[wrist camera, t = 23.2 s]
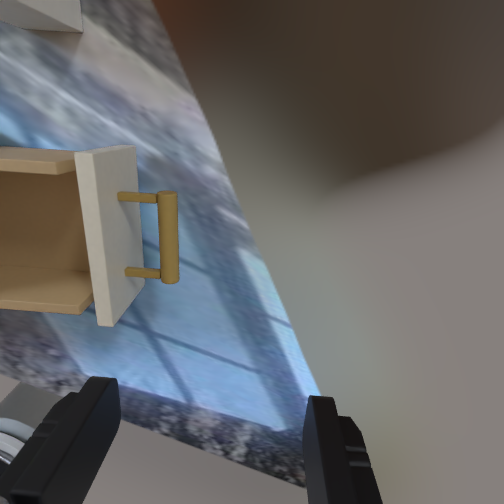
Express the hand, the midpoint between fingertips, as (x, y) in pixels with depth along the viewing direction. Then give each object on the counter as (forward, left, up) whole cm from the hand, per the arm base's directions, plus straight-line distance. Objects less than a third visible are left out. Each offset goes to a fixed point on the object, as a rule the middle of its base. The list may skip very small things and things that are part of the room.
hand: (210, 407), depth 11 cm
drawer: (0, +14, -19) cm, 23 cm away
